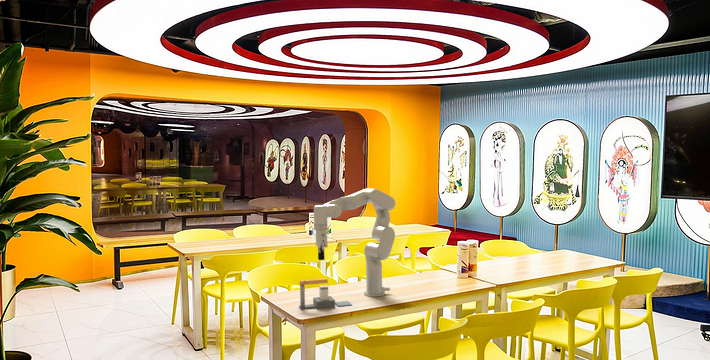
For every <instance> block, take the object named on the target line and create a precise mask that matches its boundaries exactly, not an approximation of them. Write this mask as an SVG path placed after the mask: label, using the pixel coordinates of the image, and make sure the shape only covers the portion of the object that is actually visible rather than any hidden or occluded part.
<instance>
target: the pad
mask: <svg viewBox="0 0 710 360" xmlns="http://www.w3.org/2000/svg"><path fill="white" fill-rule="evenodd" d="M335 306H337V307H338V308H339V307H350V306H353V304H352V303H351V302H350V301H349V300H345V301H344V300H343V301H335Z"/></svg>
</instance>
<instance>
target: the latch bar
mask: <svg viewBox="0 0 710 360" xmlns="http://www.w3.org/2000/svg"><path fill="white" fill-rule="evenodd" d="M328 281H329V279H328V278H316V279H305V280H304V279H302V280H299V286H300V285H305V286H307V285H319V284H321V285H322V284H328Z"/></svg>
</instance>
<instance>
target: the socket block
mask: <svg viewBox="0 0 710 360" xmlns="http://www.w3.org/2000/svg"><path fill="white" fill-rule="evenodd" d="M305 286H306V285H300V284H299V290H300V291H299V292H300V293H299V296H300V298H299V300H300V302H299V305H298V308H299V310H310V309H311V310H312V309H316V310H322V309H323V310H325V309H333V308H334V309H335V308H336V304H335V302H336V300H335V299H334V297H332V296H331V295H328V300H320V296H317V297H313V299H312V304H310V303H309V304H305V303H306V293H305V289H306V287H305Z"/></svg>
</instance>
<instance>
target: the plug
mask: <svg viewBox="0 0 710 360" xmlns="http://www.w3.org/2000/svg"><path fill="white" fill-rule="evenodd" d="M318 290H319V297H320V300H328V296H329V286H328V285H327V284H326V285H319V288H318Z"/></svg>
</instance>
